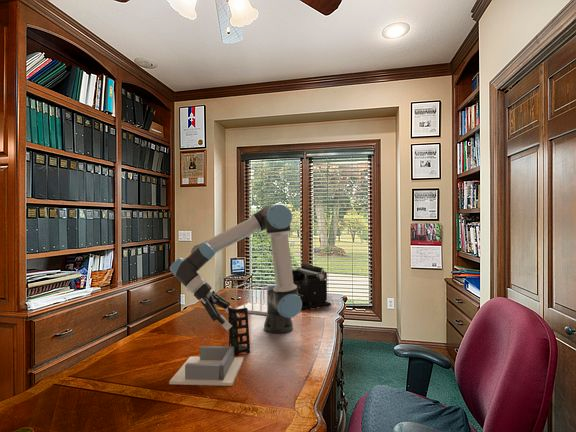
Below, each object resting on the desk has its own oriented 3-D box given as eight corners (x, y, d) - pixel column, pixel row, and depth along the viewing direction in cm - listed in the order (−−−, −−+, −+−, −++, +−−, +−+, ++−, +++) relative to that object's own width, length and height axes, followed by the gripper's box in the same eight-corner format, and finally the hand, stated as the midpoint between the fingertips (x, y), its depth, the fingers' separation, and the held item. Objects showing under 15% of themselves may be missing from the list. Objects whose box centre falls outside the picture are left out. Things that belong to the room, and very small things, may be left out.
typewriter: (273, 301, 223) (273, 265, 224) (305, 296, 236) (305, 262, 237) (295, 311, 196) (295, 271, 196) (330, 306, 209) (330, 268, 210)
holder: (254, 348, 139) (251, 304, 137) (246, 357, 132) (243, 310, 130) (232, 345, 142) (229, 302, 141) (223, 354, 135) (220, 308, 134)
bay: (243, 359, 128) (243, 345, 128) (232, 385, 108) (232, 368, 108) (190, 358, 129) (190, 344, 129) (169, 384, 109) (169, 366, 109)
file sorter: (282, 308, 203) (282, 284, 204) (270, 316, 187) (270, 289, 187) (248, 304, 213) (247, 281, 213) (234, 311, 197) (234, 286, 197)
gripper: (202, 287, 150) (234, 320, 149) (182, 301, 125) (219, 340, 124) (213, 276, 150) (245, 308, 149) (195, 287, 125) (233, 326, 124)
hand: (233, 323), depth 136 cm, fingers open, 13 cm apart
